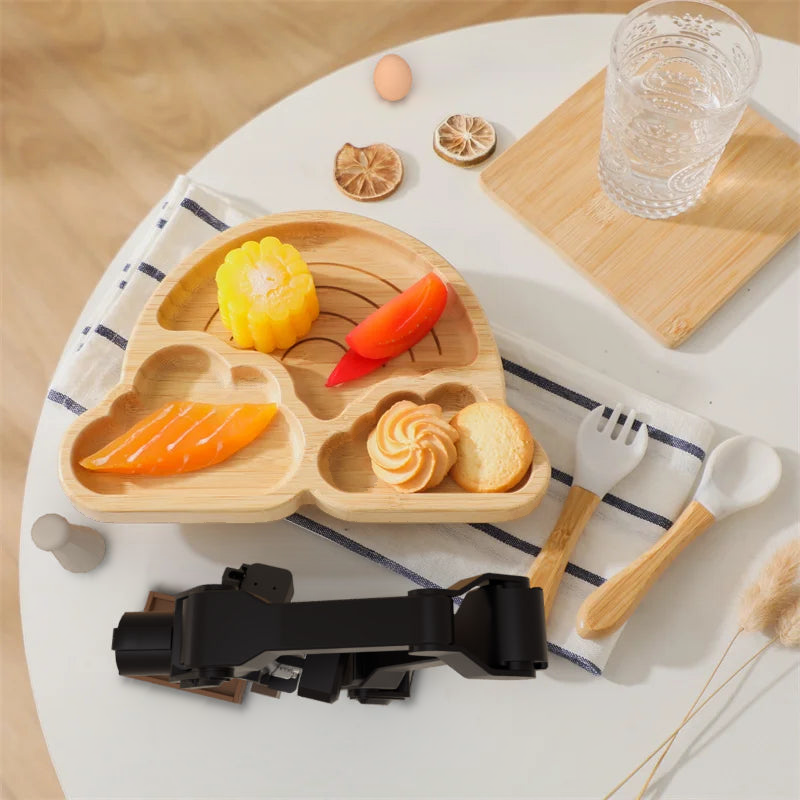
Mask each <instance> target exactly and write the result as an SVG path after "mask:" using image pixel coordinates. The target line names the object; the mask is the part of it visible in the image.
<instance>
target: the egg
mask: <svg viewBox="0 0 800 800" xmlns="http://www.w3.org/2000/svg"><path fill="white" fill-rule="evenodd" d="M372 77H373V85H374V89H375V91H376V92H377V93H378V95H379V96H380V97H381V98H383V99H385V100H387V101H392V102H393V101H394V102H395V101H399V100H401V99H403V98H404V97H406V96H407V95H408V94H409V92H410V90H411V87H412V84H413V74H412V70H411V67H410V65H409V64H408V62H407V61H406V60H405V59H404V58H403V57H402V56H400V55H398V54H395V53H389V54H386V55H384V56H382V57H381V59H379V60H378V62H377V63H376V65H375V67H374V69H373V75H372Z"/></svg>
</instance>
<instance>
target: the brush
mask: <svg viewBox="0 0 800 800" xmlns="http://www.w3.org/2000/svg"><path fill="white" fill-rule="evenodd" d="M267 687H268V686H266V685H262V684H258V683H254V682H251V687H250V690H249V692H250V693H253V694H256V695H260V696H265V697H270V698H274V699H278V700H279V699H280V698H281V695H282V691H278V690H273V689H269V688H267Z"/></svg>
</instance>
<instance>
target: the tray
mask: <svg viewBox="0 0 800 800" xmlns="http://www.w3.org/2000/svg"><path fill="white" fill-rule="evenodd" d="M174 608H175V595H170V594H167V593H163V592H162V593H161V592H158V591H153V590H150V591H149V593H148V596H147V599H146V603H145V605H144V607H143V611H142V612H148V611H173V609H174ZM169 676H170V675H148V676H124V677H126V678H130V679H134V680H138V681H143V682H147V683H149V684H150V683H151V684H155V685H157V686H163V687H167V688H171V689H176V690H179V691H184V692H188V693H192V694H196V695H201V696H204V697H208V698H212V699H217V700H221V701H225V702H228V703H233V704H238V705H242V702H243V698H244V695H245V692H246V688H247V686H248V685H247V684H248V681H245V680H241V679H237V678H234V679H230V682H223V683H222V684H221V685H220V686H218V687H208V688H199V689H180V683H169Z"/></svg>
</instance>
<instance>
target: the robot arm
mask: <svg viewBox="0 0 800 800" xmlns="http://www.w3.org/2000/svg"><path fill="white" fill-rule="evenodd" d="M293 577H294V576H293V573H292V571H290V570H289V569H287V568H283V567H278V566H275V565H269V564H265V563H260V562H255V563H252V564H248V563H244V562H243V563H242V564H241V565H240V567H239V568H235V567H231V566H226V567H225V568H224V572H223V573H222V575H221V582H220V583H205V584H200V585H197V586H194V587H191V588H189V589H187V590H184V591H182V592H179V593H176V594H175V595H174V596H175V608H174V609H173V611H148V612H143V611H124V613H123V614H122V615H121V616H120V619H119V621H118V625H117V627H113V629H112V635H111V636H112V637H111V649H110V651H113V652H114V657H115V665H116V668H117V671H118V676H120V677H125V676H148V675H170V676H169V683H180V689H199V688H208V687H218V686H220V685H221V684H222V683H223V682H230V679H234V678H237V679H241V680H245V681H247V682H249V683H253V682H254V683H258V684H262V685H266V686H268V687H267V688H269V689H273V690H278V691H281V693H286V694H293V693H295V692H296V690H297V693H296V696H297V697H301V698H305V699H308V700H312V701H316V702H321V703H325V704H328V705H329V704H330V705H333V704H334V703H336V702H338V701H339V698H340V695H341V694H340V693H341V691H342V692H343V691H346V692H347V693H346V697H347V698H348V699H349V700H352V701H357V702H358V703H359V704H360V705H374V706H384V707H385V706H389V705H390V703H392V702H394V701H406V699H410V698H411V688H412V683H413V679H414V675H415V674H414V673H415V671H417V670H424V669H429V668H436V667H442V666H448V667H449V668H451V669H452V670H453V671H454V672H456V673H457V674H459V676H461V677H462V678H465V679H467V680H487V681H525V680H534V679H535V680H536V679H537V672H542V671H546V670H547V669H548V668H549V651H548V650H549V649H548V636H547V635H548V634H547V622H546V609H545V593H544V589H543V588H542V586H531V580H530V577H528V576H525V575H524V576H523V575H515V574H507V573H497V572H485V573H480V574H477V575H474V576H469V577H467V578H466V577H465V578H462V579H460V580H457V582H454V583H453V584H452V585H450V586H448V587H447V588H438V587H425V588H423V587H422V588H413V589H409V590H407V595H399V596H397V595H396V596H381V597H380V596H379V597H363V598H343V599H340V598H339V599H324V600H322V599H321V600H305V601H292V600H293V598H294V595H295V585H294V578H293ZM463 595H464V597H463V599H462V601H461V602H460V604H459V606H458V608H457V610H456V611H455V603H454V601H455V600H454V598H457V597H461V596H463Z"/></svg>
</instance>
